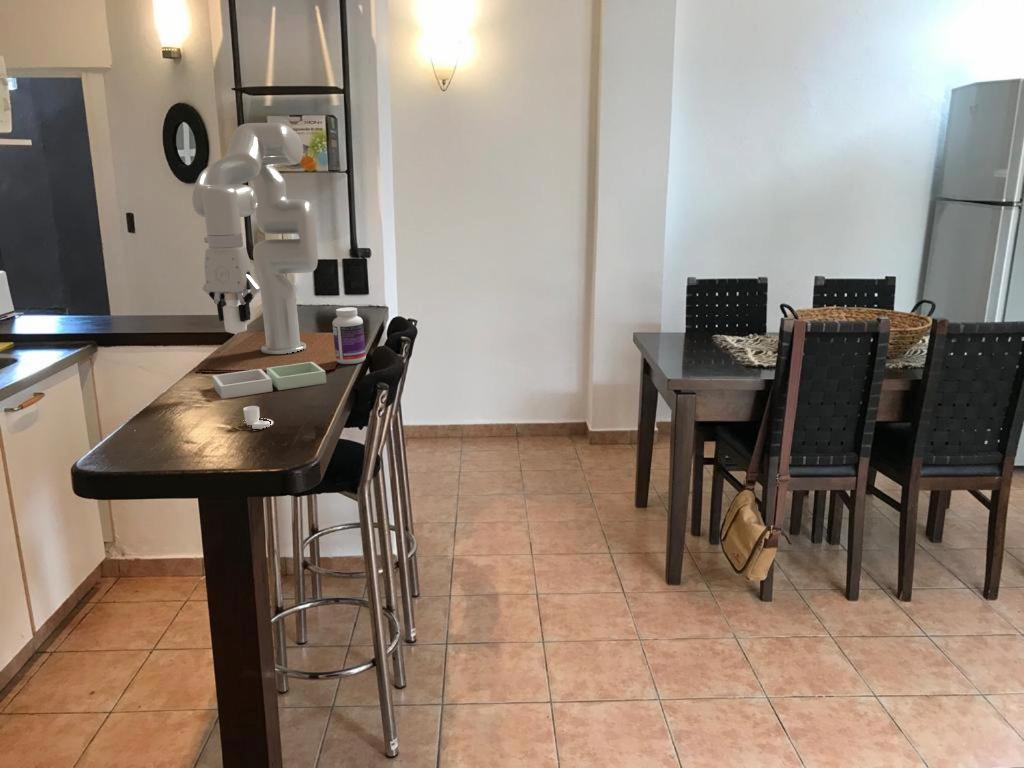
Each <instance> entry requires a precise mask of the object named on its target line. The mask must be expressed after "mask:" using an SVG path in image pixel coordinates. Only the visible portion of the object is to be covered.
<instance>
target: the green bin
mask: <svg viewBox="0 0 1024 768" xmlns="http://www.w3.org/2000/svg"><path fill="white" fill-rule="evenodd" d="M266 374H267V375H268V376H269V377H270V378H271V379H272V386H274V387H275V388H276V389H277V390H278V391H282V390H284V391H285V390H289V389H296V388H301V387H308V386H309V387H310V386H317V385H322V384H327V375H326V370H324V369H323V368H322V367H320V366H319V365H318V364H316V363H315V362H314V361H307V362H301V363H299V362H298V363H293V364H286V365H285V364H284V365H279V366H271V367H266Z"/></svg>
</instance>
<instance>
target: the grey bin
mask: <svg viewBox="0 0 1024 768" xmlns="http://www.w3.org/2000/svg"><path fill="white" fill-rule="evenodd" d="M211 378H212V386H213V389H214V390H215V392H216V393H217V394H218V395H219V397H220V399H221V400H223V399H230V398H238V397H242V396H243V397H244V396H249V395H250V396H251V395H256V394H263V393H269V392H273V390H274V389H273V388H274V387H273V384H272V379H271V378H270V377H269V376H268V375H267V372H265V371H264V370H263V369H261V368H259V369H258V368H257V369H249V370H243V371H235V372H227V373H221V374H213V375H211Z"/></svg>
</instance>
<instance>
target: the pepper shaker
mask: <svg viewBox="0 0 1024 768" xmlns="http://www.w3.org/2000/svg"><path fill="white" fill-rule="evenodd" d="M224 294H225V302H226V306H224V307H223V316H224V321H223V323H224V331H225V332H226V333H229V334H239V333H244V332H247V330H248V327H247V321H245V322H241V321H240V315H239V305H241V303H240V301H239V298H238V295H237V293H224Z"/></svg>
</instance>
